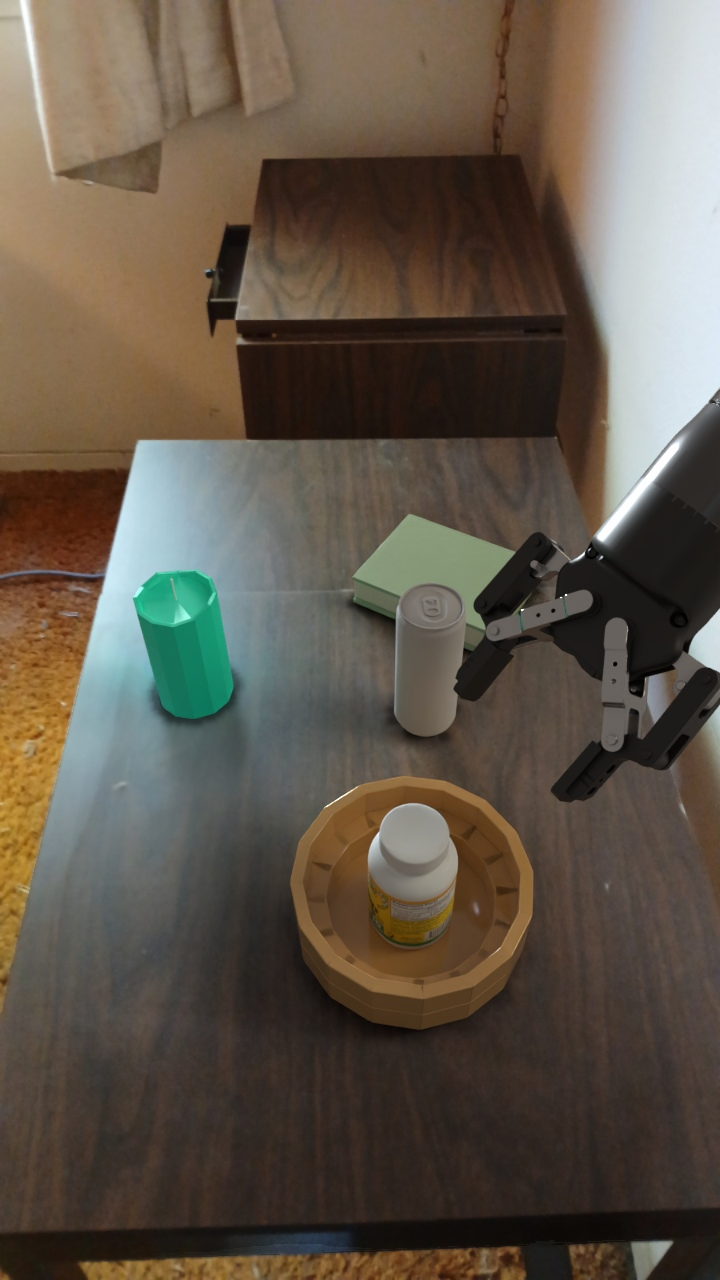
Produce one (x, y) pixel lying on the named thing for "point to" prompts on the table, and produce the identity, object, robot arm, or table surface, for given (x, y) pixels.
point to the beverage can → (428, 657)
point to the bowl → (480, 923)
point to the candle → (185, 642)
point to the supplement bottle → (412, 877)
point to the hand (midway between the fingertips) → (510, 744)
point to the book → (430, 569)
